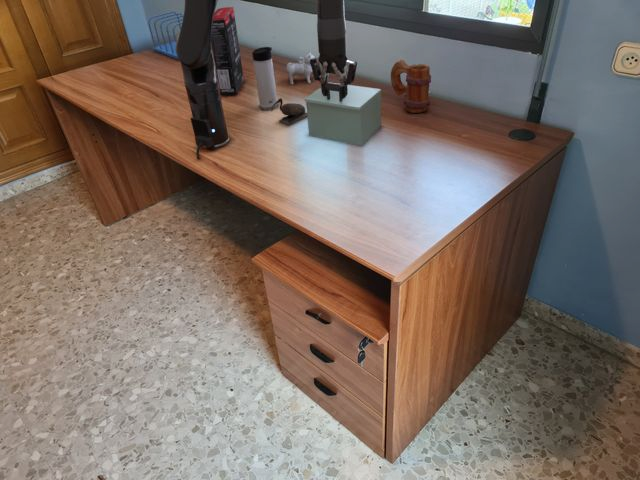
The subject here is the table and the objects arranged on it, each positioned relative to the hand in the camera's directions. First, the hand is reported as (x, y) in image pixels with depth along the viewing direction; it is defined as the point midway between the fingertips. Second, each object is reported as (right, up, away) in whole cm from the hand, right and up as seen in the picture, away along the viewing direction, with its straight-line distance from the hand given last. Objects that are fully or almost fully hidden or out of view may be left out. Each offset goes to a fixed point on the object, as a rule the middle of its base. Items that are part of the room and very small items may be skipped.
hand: (334, 96), depth 136 cm
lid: (+3, +1, +5) cm, 5 cm away
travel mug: (-22, +6, +31) cm, 39 cm away
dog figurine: (-11, +21, +50) cm, 55 cm away
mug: (+26, +3, +22) cm, 34 cm away
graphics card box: (-38, +18, +48) cm, 64 cm away
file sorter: (-71, +50, +93) cm, 127 cm away
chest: (+4, -7, +12) cm, 14 cm away
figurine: (-14, -2, +21) cm, 25 cm away
